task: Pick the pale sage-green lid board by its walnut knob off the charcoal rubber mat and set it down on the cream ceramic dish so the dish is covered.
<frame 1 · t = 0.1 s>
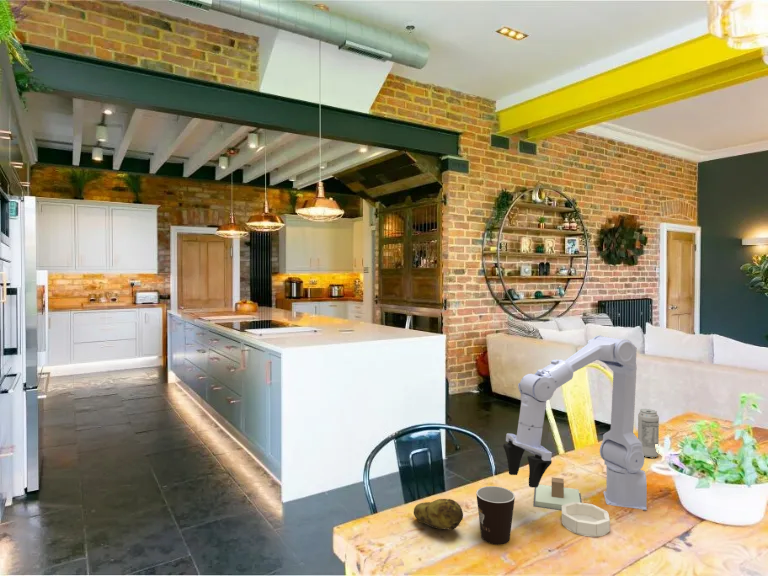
hand: (522, 480, 118), 11 cm above the table, tool pointing down, fingers open, 7 cm apart
coffee mug: (495, 534, 114), on the table
potato: (438, 529, 116), on the table
lid: (557, 499, 130), resting on mat
dish: (584, 526, 117), on the table
energy drink can: (647, 456, 162), on the table
mat: (557, 501, 130), on the table
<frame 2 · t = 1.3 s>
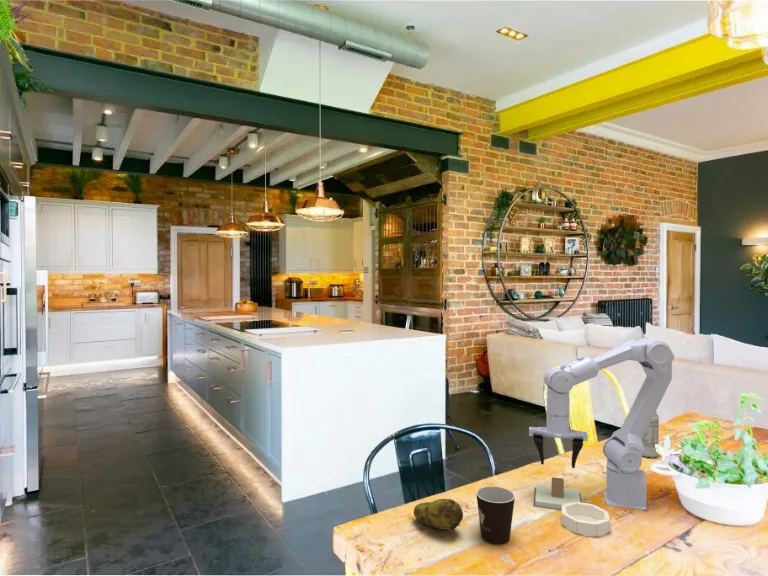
hand: (557, 464, 130), 10 cm above the table, tool pointing down, fingers open, 7 cm apart
nothing on the table moved.
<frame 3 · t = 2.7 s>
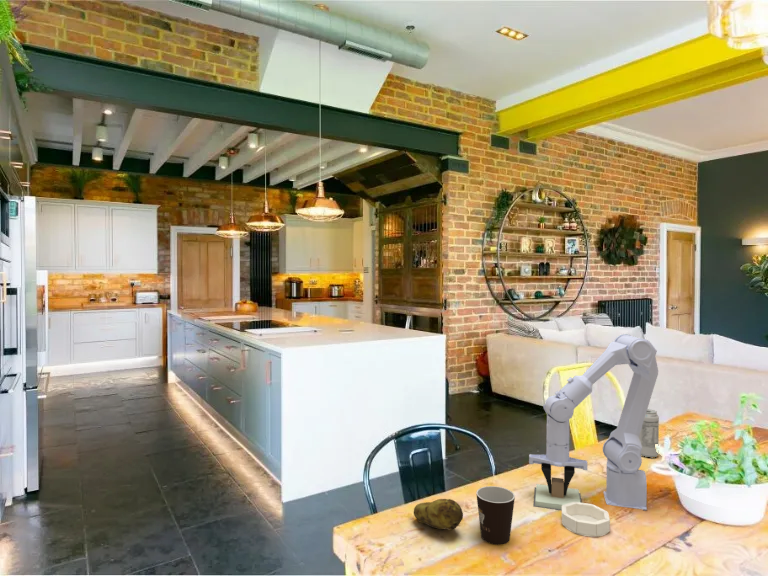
hand: (557, 492, 130), 2 cm above the table, tool pointing down, fingers closed on lid, 3 cm apart
lid: (557, 499, 130), resting on mat, touching gripper
everything else where it was.
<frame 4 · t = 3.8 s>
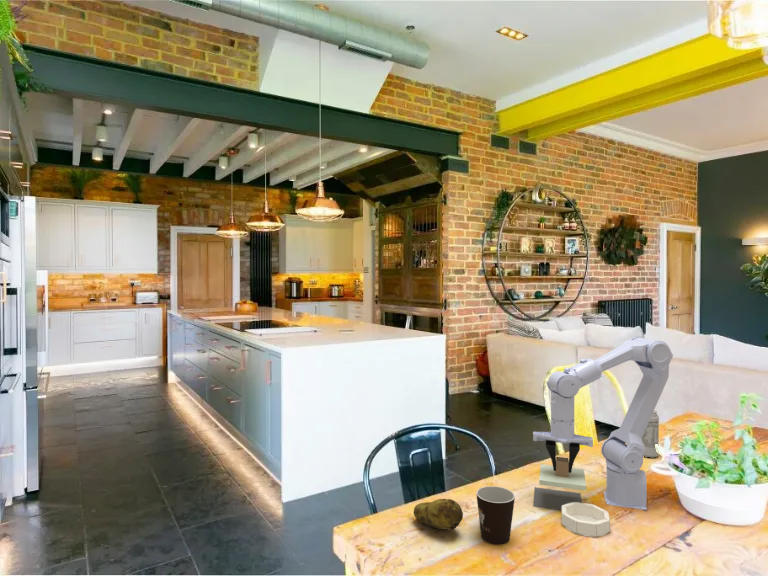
hand: (562, 470, 127), 9 cm above the table, tool pointing down, fingers closed on lid, 3 cm apart
lid: (562, 479, 127), point 7 cm above the table, touching gripper
everything else where it was.
when the fingers open (7 cm above the table, at t = 5.1 s): lid stays where it is, resting on dish.
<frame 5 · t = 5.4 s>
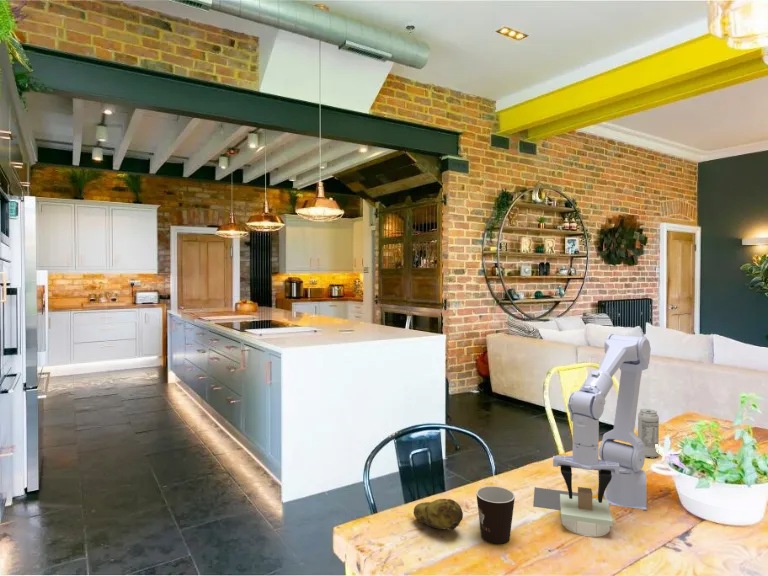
hand: (585, 498, 117), 7 cm above the table, tool pointing down, fingers open, 6 cm apart
lid: (584, 511, 117), point 3 cm above the table, touching dish
everything else where it was.
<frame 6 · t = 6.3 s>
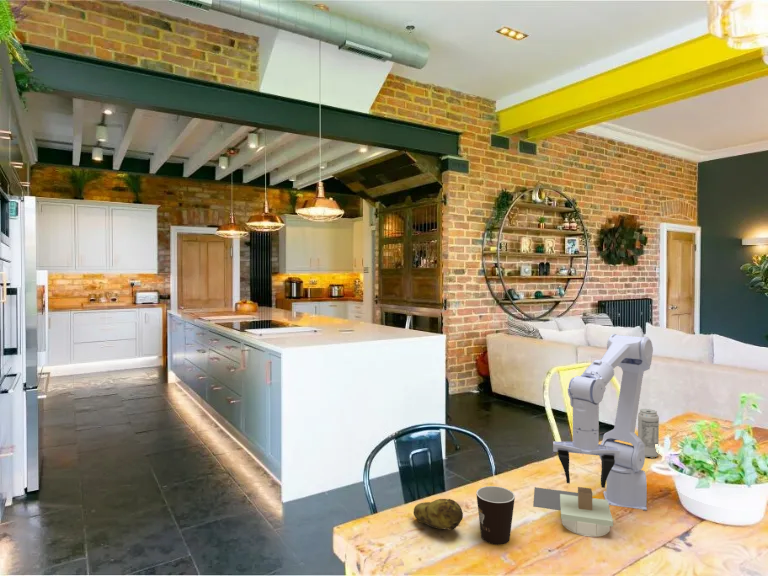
hand: (585, 483, 116), 10 cm above the table, tool pointing down, fingers open, 7 cm apart
nothing on the table moved.
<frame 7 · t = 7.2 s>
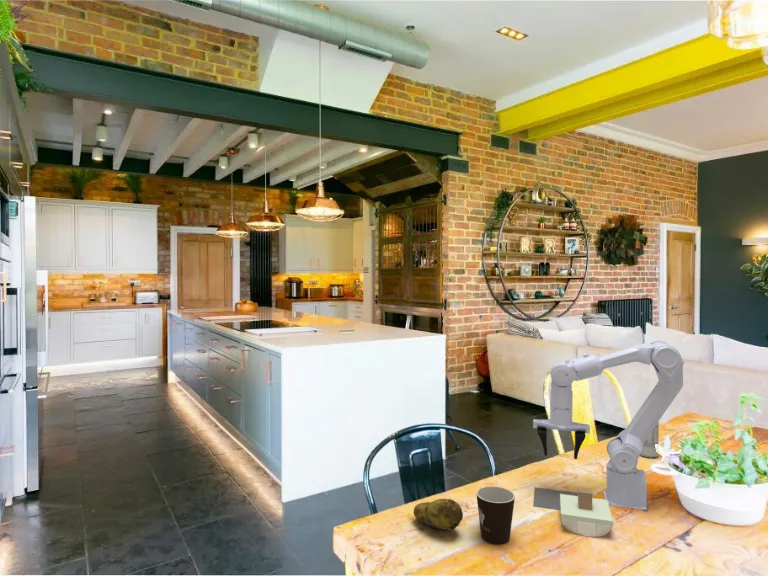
hand: (560, 456, 134), 10 cm above the table, tool pointing down, fingers open, 7 cm apart
nothing on the table moved.
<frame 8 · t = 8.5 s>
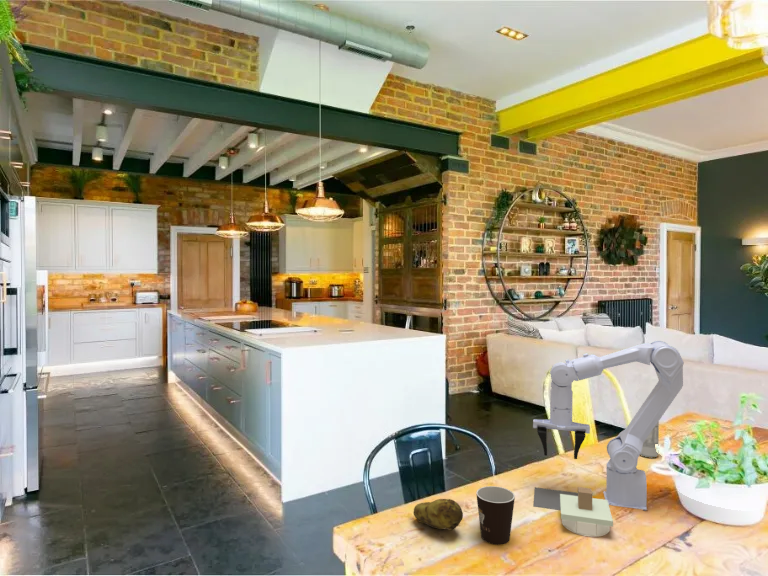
hand: (560, 456, 134), 10 cm above the table, tool pointing down, fingers open, 7 cm apart
nothing on the table moved.
at the end: lid 0.5 cm off-centre on the dish, point 3.4 cm above the dish's base; the gripper is holding nothing; lid tilted 0° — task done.
